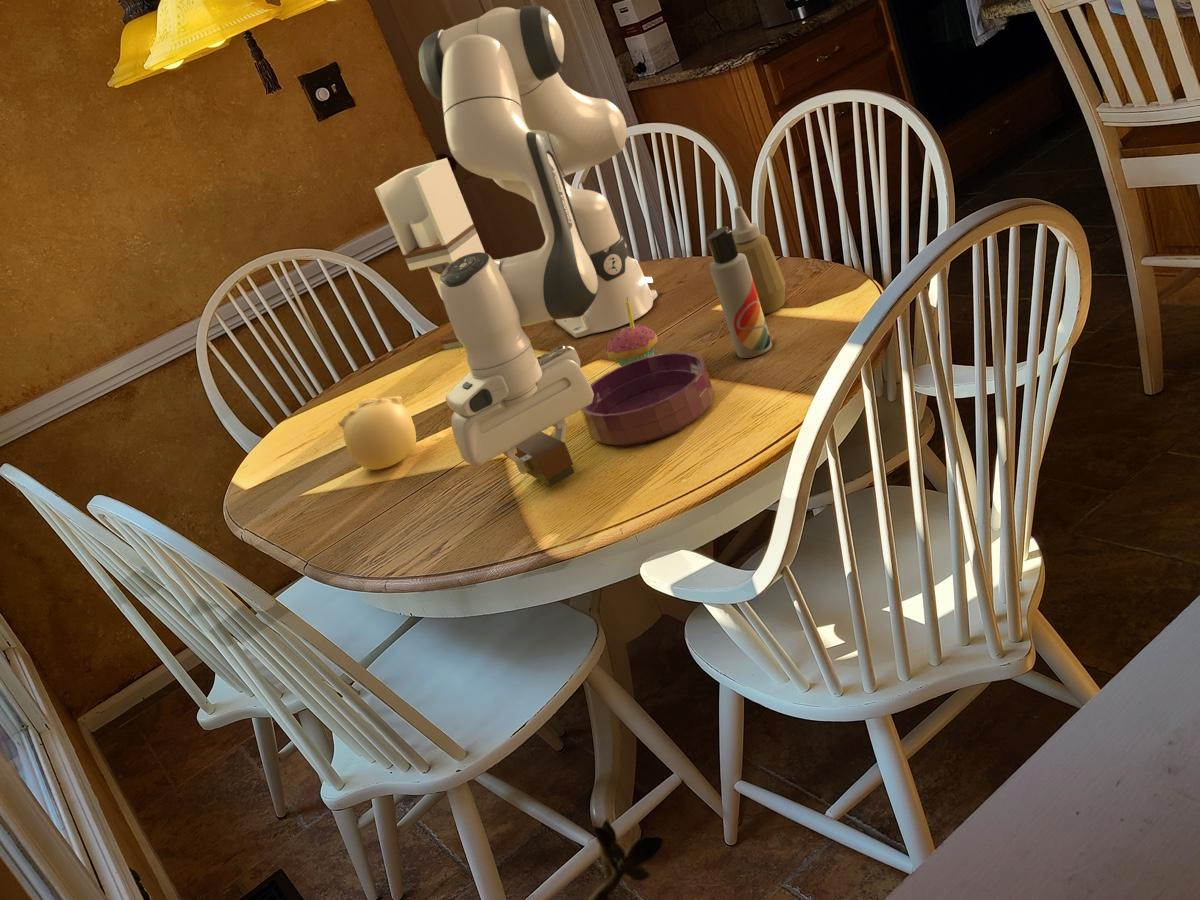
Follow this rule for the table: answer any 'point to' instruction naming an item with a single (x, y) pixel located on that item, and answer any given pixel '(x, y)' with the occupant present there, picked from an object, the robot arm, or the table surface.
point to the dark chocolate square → (546, 458)
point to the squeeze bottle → (759, 262)
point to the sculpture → (379, 432)
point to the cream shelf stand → (429, 221)
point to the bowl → (648, 399)
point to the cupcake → (631, 342)
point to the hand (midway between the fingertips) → (543, 461)
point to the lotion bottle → (738, 295)
